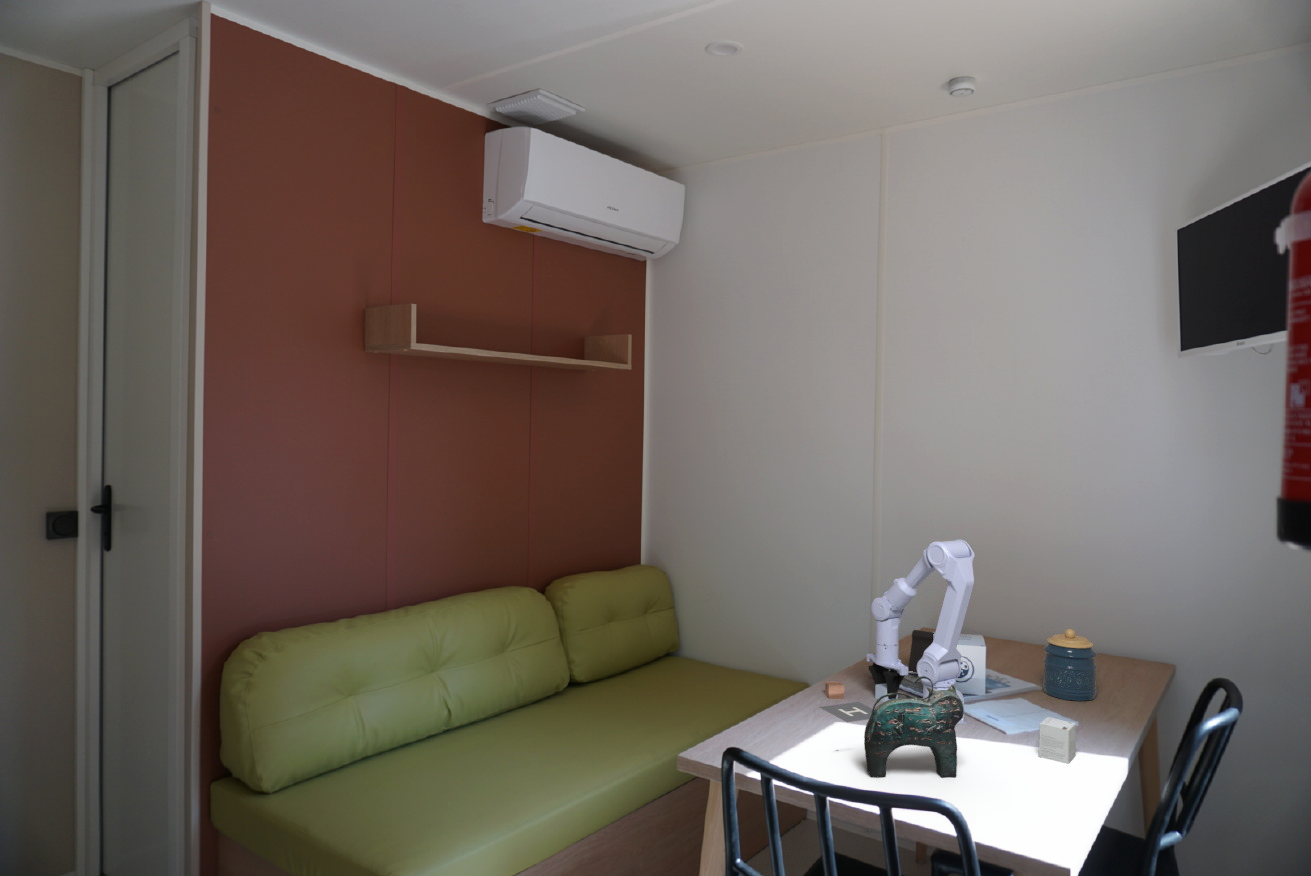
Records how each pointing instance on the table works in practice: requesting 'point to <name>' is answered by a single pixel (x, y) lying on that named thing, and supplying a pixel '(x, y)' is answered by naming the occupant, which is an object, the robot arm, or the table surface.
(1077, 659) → the canister
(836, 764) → the table surface
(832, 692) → the terracotta block
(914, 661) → the phone stand
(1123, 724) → the table surface
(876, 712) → the green animal figurine
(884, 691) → the pale blue cube
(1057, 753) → the skincare box
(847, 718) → the board
